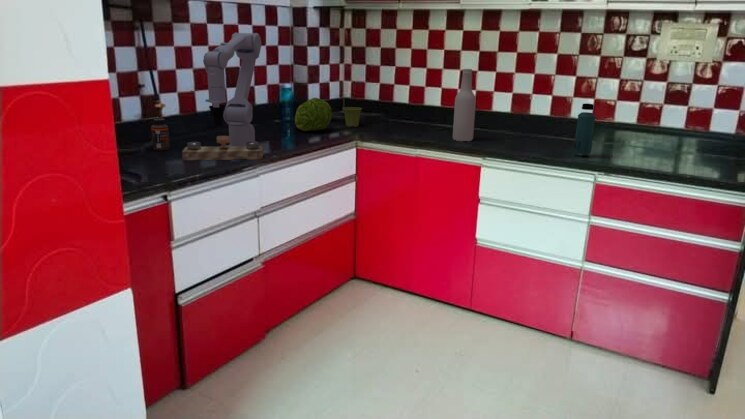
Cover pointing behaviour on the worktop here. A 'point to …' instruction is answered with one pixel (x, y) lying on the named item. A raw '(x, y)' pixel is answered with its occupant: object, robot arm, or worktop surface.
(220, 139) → the pot knob
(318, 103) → the lettuce
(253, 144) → the knob
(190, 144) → the knob
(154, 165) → the worktop surface
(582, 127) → the beverage bottle
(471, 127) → the alcohol
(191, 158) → the knob bar
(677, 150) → the worktop surface
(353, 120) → the plant pot
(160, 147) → the supplement bottle
